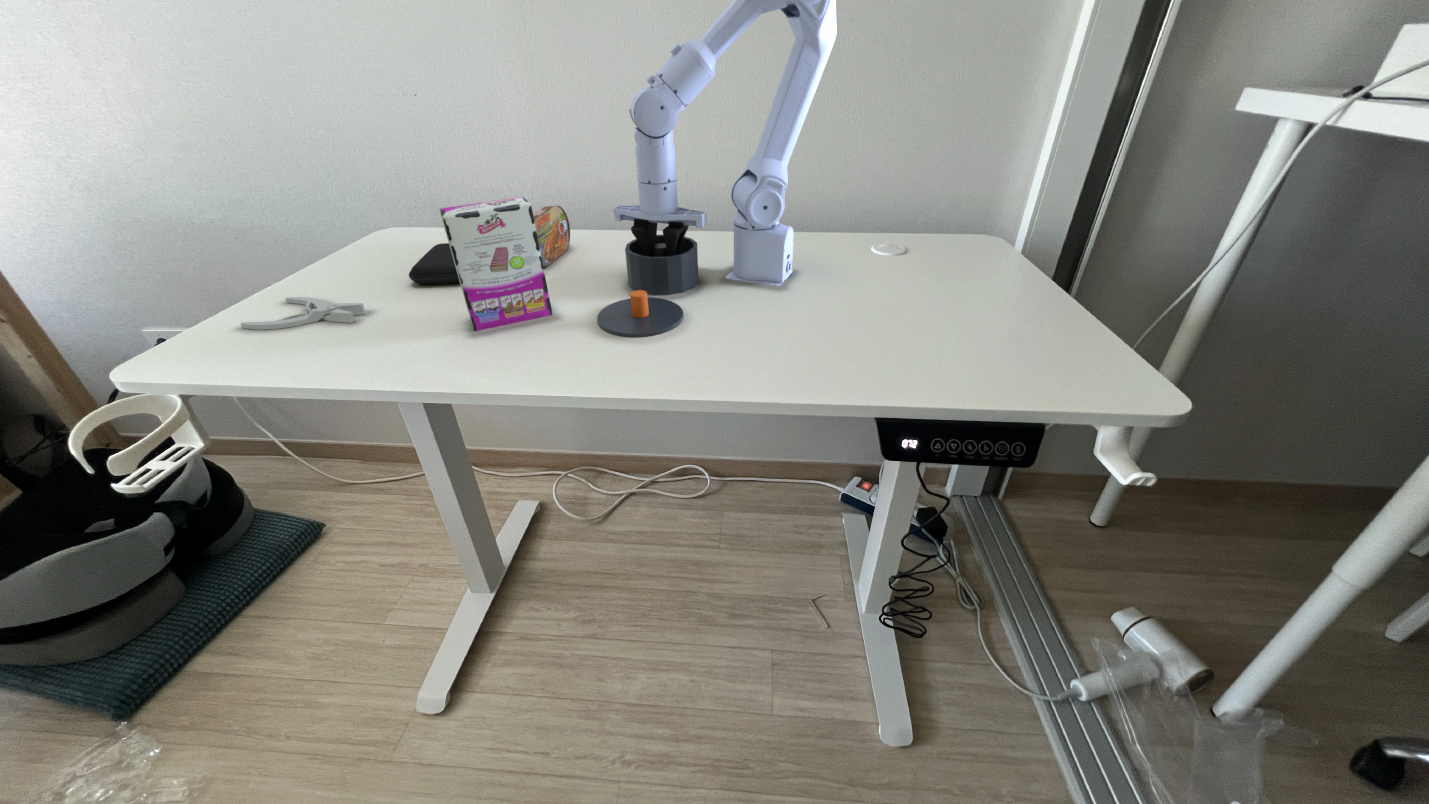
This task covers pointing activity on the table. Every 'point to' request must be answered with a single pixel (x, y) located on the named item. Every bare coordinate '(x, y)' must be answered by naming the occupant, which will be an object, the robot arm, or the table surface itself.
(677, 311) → the lid
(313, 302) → the pliers
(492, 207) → the candy bar box
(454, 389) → the table surface
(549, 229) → the tin
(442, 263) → the carrying case
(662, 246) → the blade
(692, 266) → the dark grey pot
